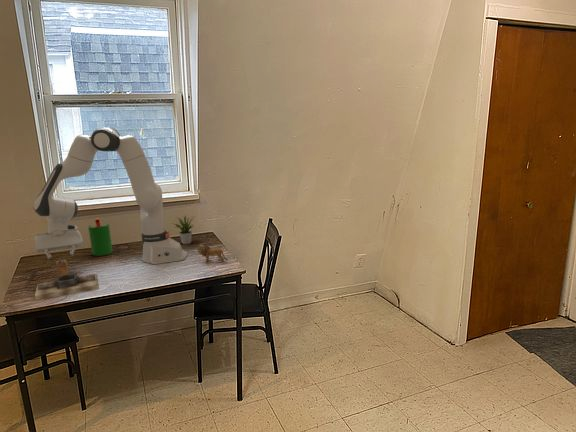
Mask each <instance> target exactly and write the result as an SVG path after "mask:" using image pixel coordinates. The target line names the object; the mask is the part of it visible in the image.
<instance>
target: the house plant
mask: <svg viewBox="0 0 576 432" xmlns="http://www.w3.org/2000/svg"><path fill="white" fill-rule="evenodd" d="M195 217H196V215H194V216H193V217H191V216H189V217H188V218H187V215H186V214H185V215H184V216H183V218H181V217H175V219H174V220H175V221H176V222H177V223H175V222H172V224H173V225H175V226H174V227H173V229H174V228H178V229H180V231H179V233H178V234H179V239H180V240H181V244H182V243H183V245H189V244H191V243H192V234H193V231H192V230H190V229H192V228H194V225H193V224H191V223H192V222H193V221H194V220H195V219H194V218H195ZM190 218H191V219H190ZM176 219H177V220H178V221H177V220H176ZM189 219H190V220H189Z"/></svg>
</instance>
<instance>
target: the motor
mask: <svg viewBox="0 0 576 432" xmlns="http://www.w3.org/2000/svg"><path fill="white" fill-rule="evenodd" d="M87 227H88V233H89V241H90V246H91V254H92V256H94V257H98V256H99V257H100V256H107V255H110V254H112V253H113V244H112V237H111V231H110V224H109V223H106V224H105V225H101V221H100V218H99V217H98V218H97V217H96V218H95V226H94V227H93V226H92V225H91V224H89V225H88V226H87Z"/></svg>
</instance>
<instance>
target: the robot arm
mask: <svg viewBox="0 0 576 432" xmlns="http://www.w3.org/2000/svg"><path fill="white" fill-rule="evenodd" d="M99 151H100V152H105V153H106V152H116V153H117V154H118V156H119V157H120V160H121V162H122V165H123V166H124V169H125V172H126V173H127V176H128V179H129V181H130V185H131V188H132V191H133V194H134V197H135V201H136V203H137V205H138V207H140V219H139V220H140V226H141V227H140V228H141V244H142V246H143V247H142V256H141V261H142V262H143V263H147V264H151V265H161V264H167V263H172V262H173V263H174V262H179V261H184V260H185V259H186V258H187V257H188V253H187V251H186V250H184V249H183V248H182V245H181V244H180V242H178V241H176V240H175V239H173V238H171V237H170V232H169V230H165V220H164V205H163V204H164V203H163V201H164V199H163V190H162V188H161V186H160V185H159V184H158V183H156V182H155V178H154V176H153V171H152V168H151V166H150V164H149V161H148V158H147V156H146V154H145V152H144V149H143V147H142V146H141V143H139V141H138V139H137V138H136V136H133V135H129V134H128V135H124V136H121V134H120V133H119V132H118V131H117V130H116V129H114V128H112V127H109V126H108V127H107V126H104V127H100V128H97V129H95V130H94V131H93V132H92V133H91V135H87V134H78V135H76V136H75V138H74V139H73V142H71V145H70V147H69V150H68V153H67V156H66V158H65V159H64V160H63V161H62V162H61V163H57V164H56V165H55V167H54V168H53V169H52V171H51V173H50V174H49V175H48V178H47V181H46V182H45V184H44V185H43V187H42V189H41V192H40V193H39V194H38V195H37V197H36V199H35V200H34V203H33V210H34V212H35V213H36V214H37V215H38V216H39V217H46V221H47V232H45V233H39V234H38V233H37V234H36V235H34V238H33V241H34V244H35V245H34V249H35V251H36V253H44V254H45V255H46V256H47V260H51V259H52V254H51V253H49V252H52V251H59V250H67V249H71V250H70V251H69V255H70V256H74V255H75V254H74V253H75V251H76V248H81V247H83V246H84V241H83V237H82V234H81V233H82V232H80V230H79V227H78V226H77V225H74V224H73V225H72V224H68V221H69V222H70V221H71V220H72V219H74V218H75V217H76V216H77V215H78V212H79V207H78V204H77V202H76V200H74V199H71V198H66V197H58V196H53V195H54V193H55V192H56V190H57V188H58V185H59V184H60V182H61V181H63V180H65V179H70V178H75V177H81V176H84V175H86V174H87V173H89V172H90V170H91V168H92V165H93V162H94V160H95V156H96V154H97V153H98V152H99Z"/></svg>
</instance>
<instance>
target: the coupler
mask: <svg viewBox="0 0 576 432" xmlns="http://www.w3.org/2000/svg"><path fill="white" fill-rule="evenodd" d="M55 264H56V270H57V271H56V272H57V277H58V276H62V275H68V274H69V268H68V262H67V259H60V260H57V261H56V262H55Z"/></svg>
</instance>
